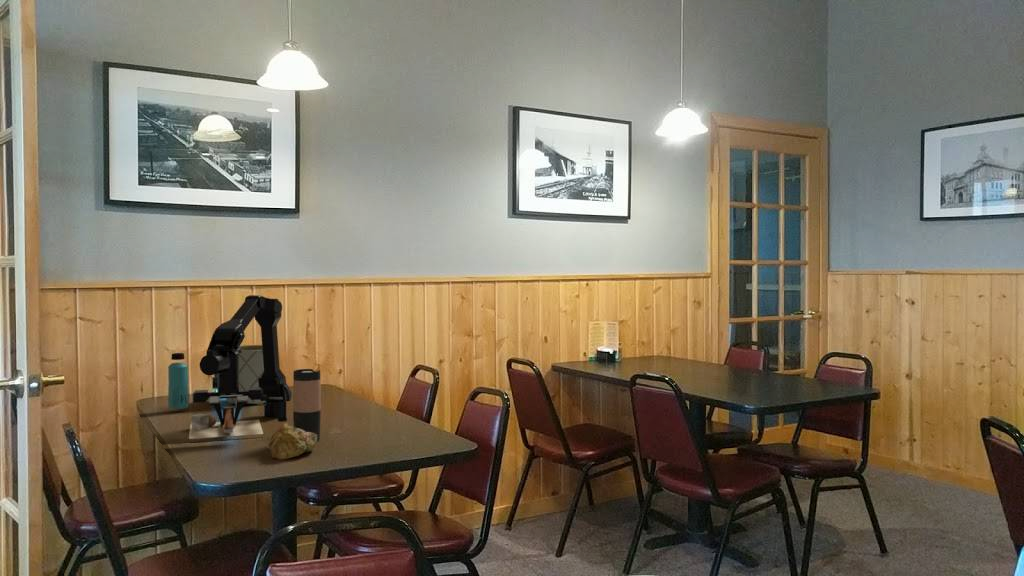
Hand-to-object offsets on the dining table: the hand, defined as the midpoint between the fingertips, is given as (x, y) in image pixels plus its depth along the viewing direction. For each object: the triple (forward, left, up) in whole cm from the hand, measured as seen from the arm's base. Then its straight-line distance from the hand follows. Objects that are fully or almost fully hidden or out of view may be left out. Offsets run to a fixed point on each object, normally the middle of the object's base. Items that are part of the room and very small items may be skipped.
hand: (228, 425), depth 224 cm
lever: (0, -9, -2) cm, 9 cm away
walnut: (+5, -15, -3) cm, 16 cm away
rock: (-16, +25, -4) cm, 30 cm away
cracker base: (+1, -10, -4) cm, 11 cm away
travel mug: (-21, +8, -4) cm, 23 cm away
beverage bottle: (+15, -51, -4) cm, 53 cm away
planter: (-9, -63, -4) cm, 64 cm away
